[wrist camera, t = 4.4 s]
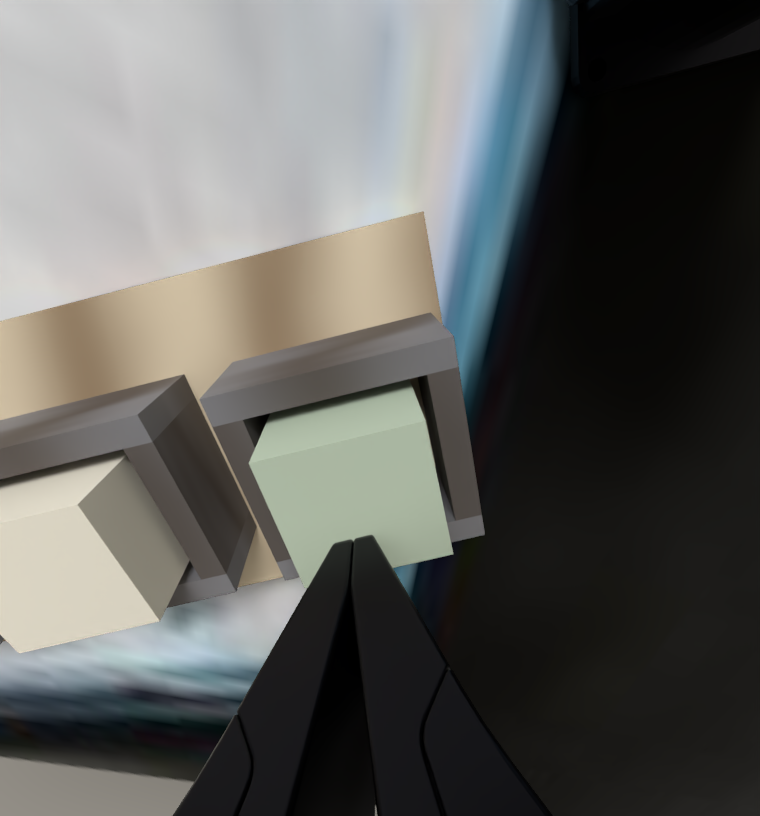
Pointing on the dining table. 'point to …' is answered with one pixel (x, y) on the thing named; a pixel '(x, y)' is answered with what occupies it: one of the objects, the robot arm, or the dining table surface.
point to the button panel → (236, 384)
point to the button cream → (82, 553)
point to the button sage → (353, 477)
